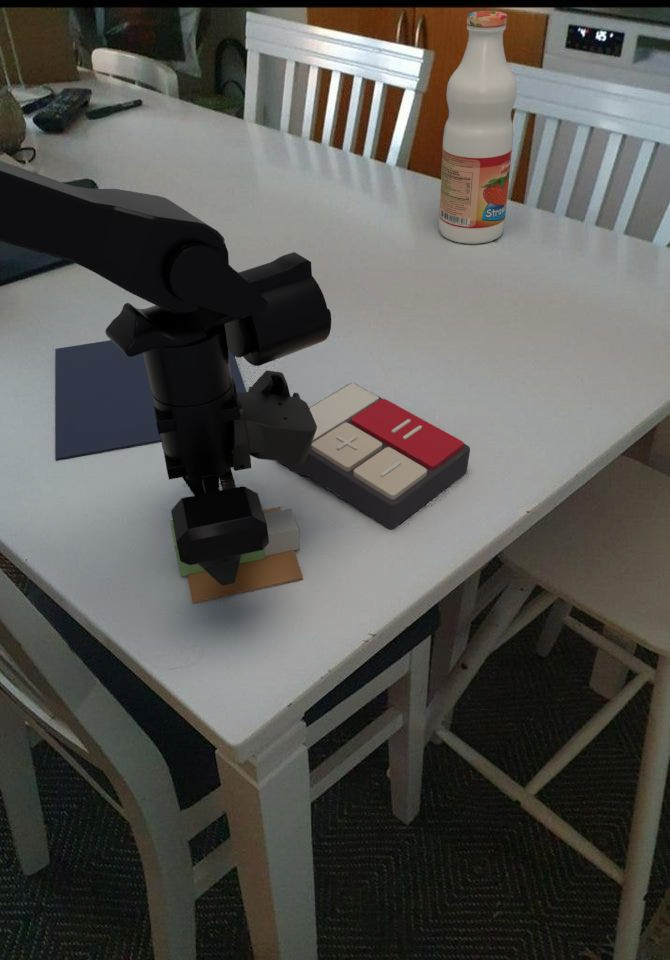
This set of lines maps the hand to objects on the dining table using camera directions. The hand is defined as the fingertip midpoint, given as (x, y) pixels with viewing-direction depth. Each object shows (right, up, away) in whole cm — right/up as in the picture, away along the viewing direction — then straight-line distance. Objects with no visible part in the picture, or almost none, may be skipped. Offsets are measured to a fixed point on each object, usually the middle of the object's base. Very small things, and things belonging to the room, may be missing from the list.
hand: (219, 544), depth 67 cm
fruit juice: (+29, +41, +51) cm, 72 cm away
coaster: (+2, -1, +1) cm, 2 cm away
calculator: (+13, +6, +10) cm, 18 cm away
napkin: (-11, +16, +22) cm, 29 cm away
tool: (+1, -1, +1) cm, 2 cm away
